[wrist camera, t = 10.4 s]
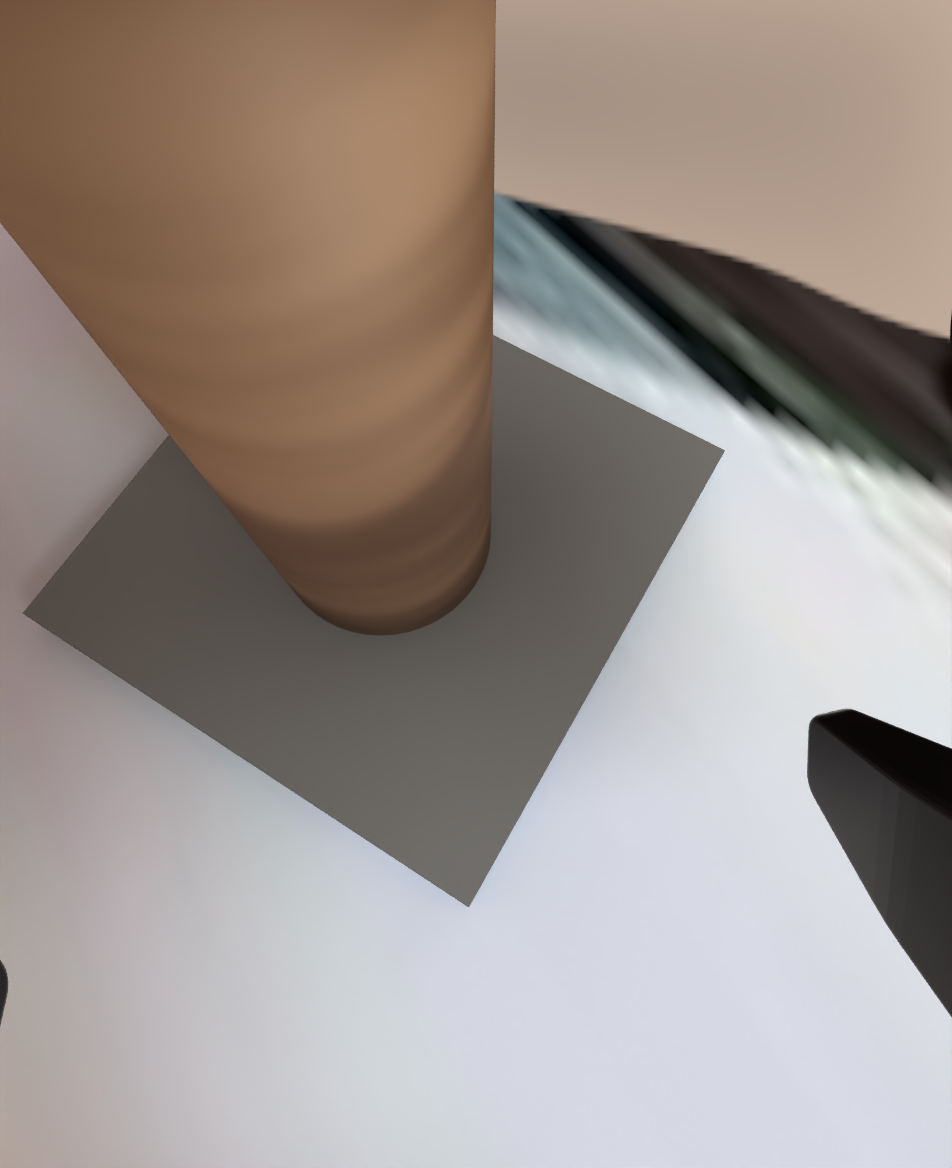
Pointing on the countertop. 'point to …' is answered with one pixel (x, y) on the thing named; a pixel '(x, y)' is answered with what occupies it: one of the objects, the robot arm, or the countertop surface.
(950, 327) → the gun
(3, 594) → the countertop surface
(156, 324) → the pepper mill
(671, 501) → the trivet mat
